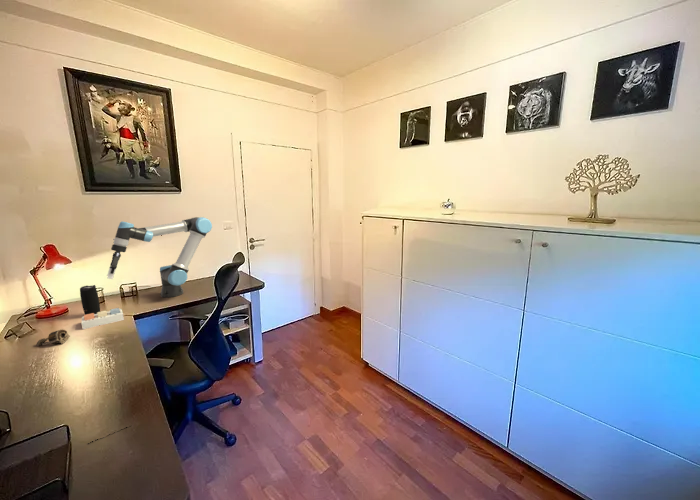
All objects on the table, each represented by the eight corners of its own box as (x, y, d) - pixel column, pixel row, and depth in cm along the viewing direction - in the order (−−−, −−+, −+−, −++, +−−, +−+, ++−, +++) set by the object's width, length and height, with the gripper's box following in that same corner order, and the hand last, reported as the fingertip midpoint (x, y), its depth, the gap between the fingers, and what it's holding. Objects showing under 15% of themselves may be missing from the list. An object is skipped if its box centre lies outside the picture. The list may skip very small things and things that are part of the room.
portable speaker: (89, 318, 187) (84, 289, 183) (81, 316, 190) (75, 287, 187) (104, 313, 194) (99, 285, 191) (96, 311, 198) (90, 284, 194)
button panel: (122, 314, 191) (121, 308, 190) (123, 319, 182) (122, 313, 181) (83, 323, 179) (81, 316, 178) (82, 329, 170) (81, 322, 169)
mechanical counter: (49, 339, 146) (70, 326, 155) (28, 335, 148) (50, 323, 157) (54, 350, 149) (75, 337, 158) (34, 347, 151) (55, 334, 160)
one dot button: (119, 312, 187) (118, 307, 186) (120, 314, 183) (119, 309, 183) (110, 314, 184) (109, 309, 183) (111, 316, 180) (110, 311, 180)
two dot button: (107, 314, 183) (106, 310, 182) (107, 316, 179) (106, 312, 179) (98, 316, 180) (97, 312, 179) (98, 318, 177) (97, 314, 176)
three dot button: (94, 317, 179) (93, 312, 178) (94, 319, 176) (93, 314, 175) (85, 319, 176) (84, 314, 176) (84, 321, 173) (83, 317, 172)
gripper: (112, 243, 199) (102, 273, 196) (113, 244, 180) (102, 278, 177) (125, 245, 203) (116, 276, 201) (128, 247, 184) (117, 281, 182)
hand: (109, 277), depth 189 cm, fingers open, 13 cm apart
